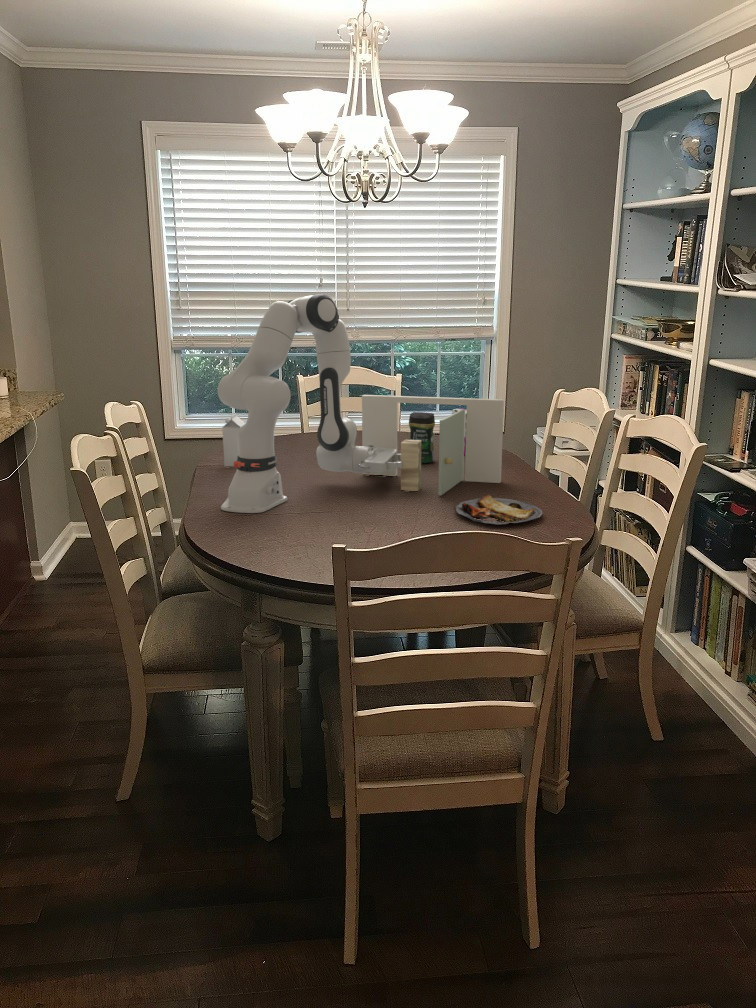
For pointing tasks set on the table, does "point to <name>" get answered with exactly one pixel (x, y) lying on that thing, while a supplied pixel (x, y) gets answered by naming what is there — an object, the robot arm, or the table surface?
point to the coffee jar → (423, 433)
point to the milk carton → (231, 439)
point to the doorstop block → (411, 465)
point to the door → (451, 451)
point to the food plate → (497, 510)
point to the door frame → (480, 431)
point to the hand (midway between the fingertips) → (405, 461)
